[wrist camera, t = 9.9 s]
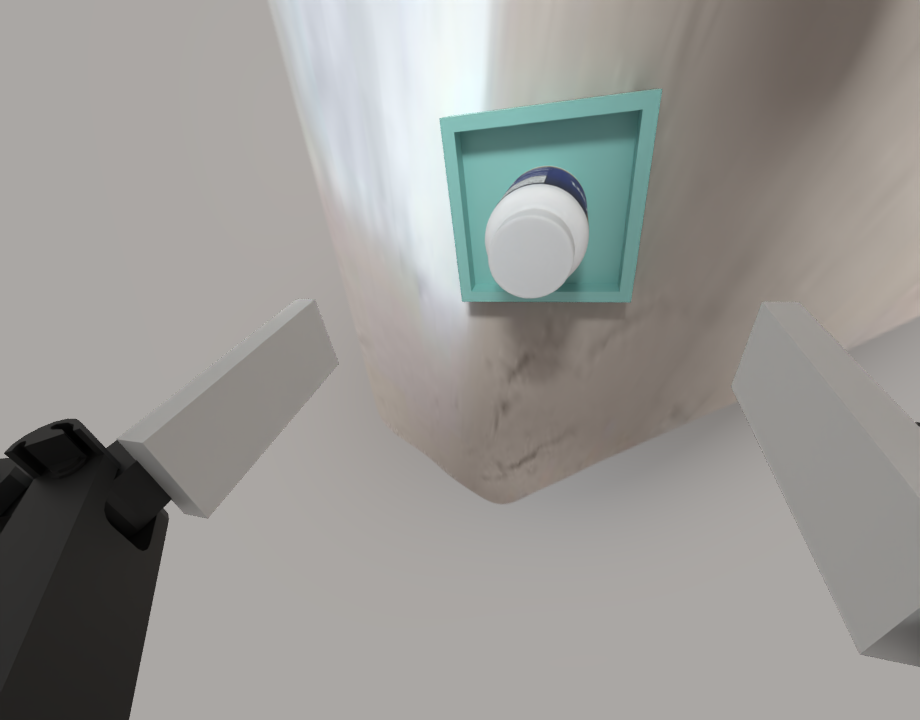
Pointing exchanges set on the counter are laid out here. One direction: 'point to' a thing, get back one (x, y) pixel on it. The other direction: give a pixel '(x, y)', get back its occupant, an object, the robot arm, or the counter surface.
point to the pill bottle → (538, 232)
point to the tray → (566, 146)
